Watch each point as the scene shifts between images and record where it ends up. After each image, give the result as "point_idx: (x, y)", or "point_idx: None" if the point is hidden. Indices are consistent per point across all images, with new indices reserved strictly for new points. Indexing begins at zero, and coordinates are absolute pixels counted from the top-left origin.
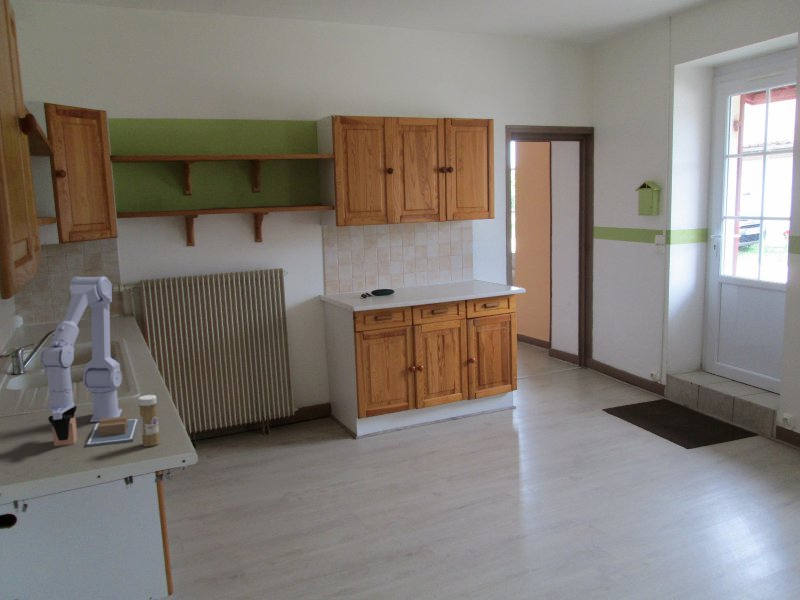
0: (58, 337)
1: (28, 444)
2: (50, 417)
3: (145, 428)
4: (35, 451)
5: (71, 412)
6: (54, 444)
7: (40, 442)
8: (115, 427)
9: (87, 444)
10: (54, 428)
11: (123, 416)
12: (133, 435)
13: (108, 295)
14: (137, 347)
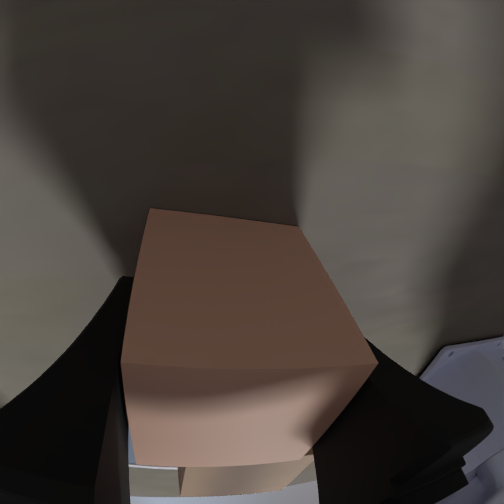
0: None
1: (332, 12)
2: (4, 498)
3: None
4: (90, 70)
5: (328, 491)
6: (147, 218)
7: (326, 100)
8: (180, 475)
9: None
10: (59, 359)
11: (282, 486)
12: (144, 467)
13: None
14: None
